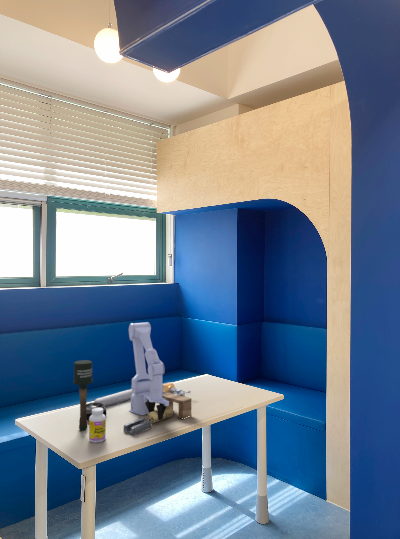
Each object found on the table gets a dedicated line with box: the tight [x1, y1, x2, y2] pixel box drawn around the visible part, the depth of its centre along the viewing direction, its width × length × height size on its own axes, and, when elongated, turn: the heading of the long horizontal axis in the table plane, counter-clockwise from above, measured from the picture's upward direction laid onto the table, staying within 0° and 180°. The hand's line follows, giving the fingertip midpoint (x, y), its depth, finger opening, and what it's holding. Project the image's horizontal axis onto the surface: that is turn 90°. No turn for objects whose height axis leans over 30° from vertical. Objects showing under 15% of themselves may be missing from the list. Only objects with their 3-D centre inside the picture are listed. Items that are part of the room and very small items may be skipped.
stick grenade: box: [72, 359, 94, 432], centre depth 186 cm, size 8×9×30 cm
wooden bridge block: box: [162, 393, 192, 420], centre depth 205 cm, size 15×6×8 cm, turn 51°
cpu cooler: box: [86, 401, 107, 422], centre depth 201 cm, size 10×6×10 cm
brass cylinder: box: [146, 406, 174, 424], centre depth 197 cm, size 5×12×5 cm, turn 141°
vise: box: [162, 381, 191, 397], centre depth 231 cm, size 18×10×7 cm, turn 41°
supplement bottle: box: [88, 408, 107, 444], centre depth 175 cm, size 7×7×13 cm
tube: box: [92, 388, 133, 408], centre depth 222 cm, size 5×5×25 cm
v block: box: [123, 417, 152, 436], centre depth 186 cm, size 6×11×3 cm, turn 141°
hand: (156, 418), depth 195 cm, fingers closed on brass cylinder, 5 cm apart
